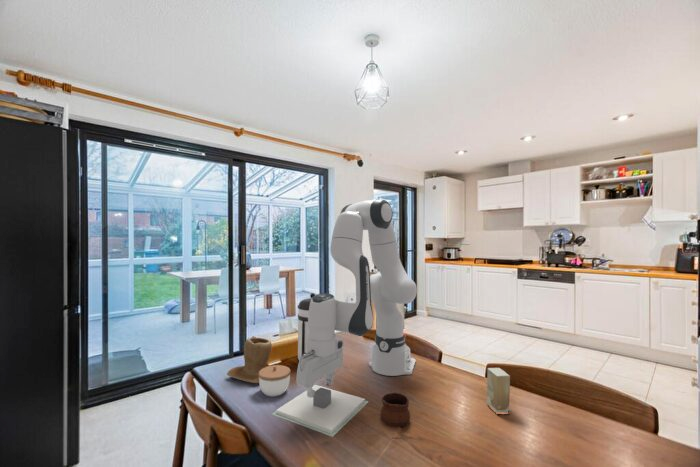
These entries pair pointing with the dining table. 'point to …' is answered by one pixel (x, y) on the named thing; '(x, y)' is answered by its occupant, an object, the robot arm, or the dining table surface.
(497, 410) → the skincare box
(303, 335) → the coffee press
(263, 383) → the lidded jar
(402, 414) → the ceramic pot
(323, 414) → the lid
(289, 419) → the mat
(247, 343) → the brown boot
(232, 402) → the dining table surface
